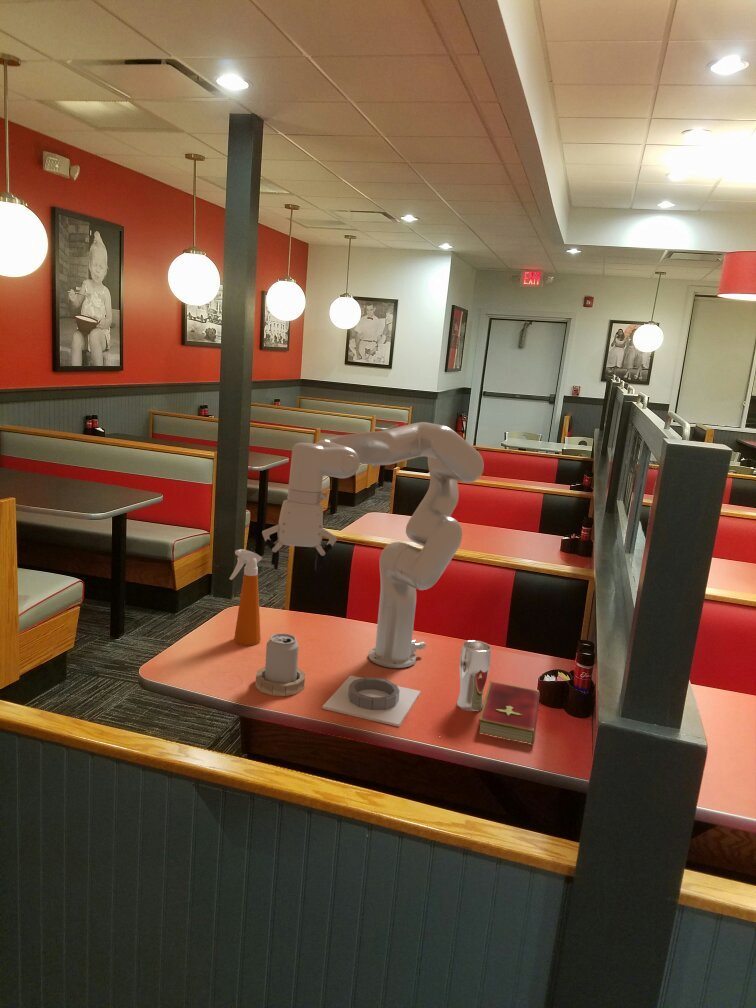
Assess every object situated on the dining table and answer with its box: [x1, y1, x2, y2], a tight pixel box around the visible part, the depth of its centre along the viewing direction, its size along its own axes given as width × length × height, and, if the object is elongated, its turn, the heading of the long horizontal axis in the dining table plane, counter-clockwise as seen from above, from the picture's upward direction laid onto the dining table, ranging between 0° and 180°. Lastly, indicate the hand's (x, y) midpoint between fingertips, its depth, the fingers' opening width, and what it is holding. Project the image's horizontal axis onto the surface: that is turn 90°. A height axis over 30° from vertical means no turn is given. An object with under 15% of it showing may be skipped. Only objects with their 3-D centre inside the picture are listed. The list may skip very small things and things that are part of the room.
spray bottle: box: [229, 548, 263, 646], centre depth 193 cm, size 7×11×26 cm, turn 143°
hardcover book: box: [478, 680, 541, 745], centre depth 165 cm, size 12×21×4 cm, turn 165°
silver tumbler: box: [456, 639, 492, 712], centre depth 169 cm, size 7×7×15 cm
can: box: [264, 632, 300, 684], centre depth 171 cm, size 8×8×12 cm
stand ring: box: [255, 666, 306, 697], centre depth 172 cm, size 11×11×2 cm
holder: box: [322, 675, 422, 728], centre depth 168 cm, size 18×18×3 cm
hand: (296, 569), depth 169 cm, fingers open, 9 cm apart
